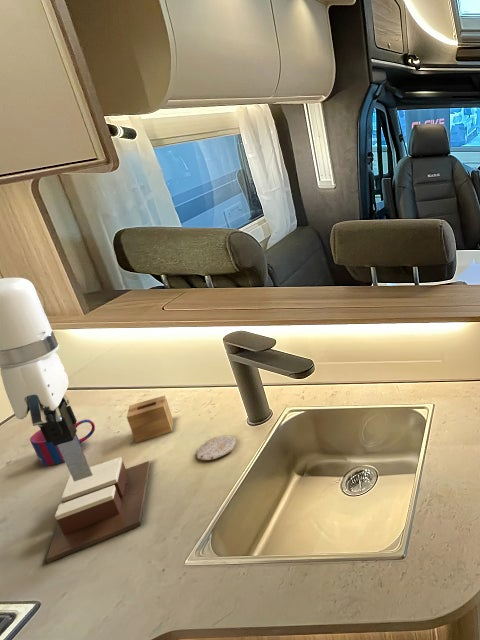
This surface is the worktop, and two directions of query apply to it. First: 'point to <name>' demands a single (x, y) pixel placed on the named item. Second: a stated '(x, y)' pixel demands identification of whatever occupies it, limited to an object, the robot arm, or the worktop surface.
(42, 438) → the mug
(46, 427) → the robot arm
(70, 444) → the knife
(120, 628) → the worktop surface
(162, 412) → the knife block
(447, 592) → the worktop surface
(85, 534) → the cake board
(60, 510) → the cake slice
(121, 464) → the cake
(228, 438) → the flatbread
